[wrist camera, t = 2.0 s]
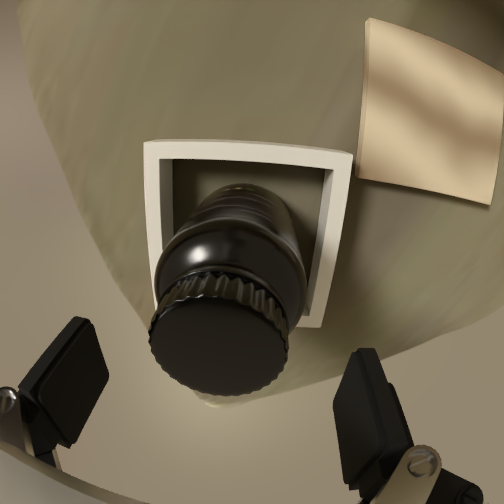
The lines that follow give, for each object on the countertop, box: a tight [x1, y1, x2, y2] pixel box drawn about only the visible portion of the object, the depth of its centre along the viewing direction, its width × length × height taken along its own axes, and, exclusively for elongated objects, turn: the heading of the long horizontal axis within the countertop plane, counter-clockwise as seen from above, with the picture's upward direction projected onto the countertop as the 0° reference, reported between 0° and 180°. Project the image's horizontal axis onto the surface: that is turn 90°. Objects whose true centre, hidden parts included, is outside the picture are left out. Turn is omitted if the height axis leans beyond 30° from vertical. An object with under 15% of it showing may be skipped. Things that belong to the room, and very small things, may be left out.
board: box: [354, 18, 504, 205], centre depth 15 cm, size 11×12×1 cm
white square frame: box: [144, 139, 353, 328], centre depth 19 cm, size 12×12×2 cm
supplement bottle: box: [148, 183, 307, 396], centre depth 15 cm, size 7×7×12 cm
